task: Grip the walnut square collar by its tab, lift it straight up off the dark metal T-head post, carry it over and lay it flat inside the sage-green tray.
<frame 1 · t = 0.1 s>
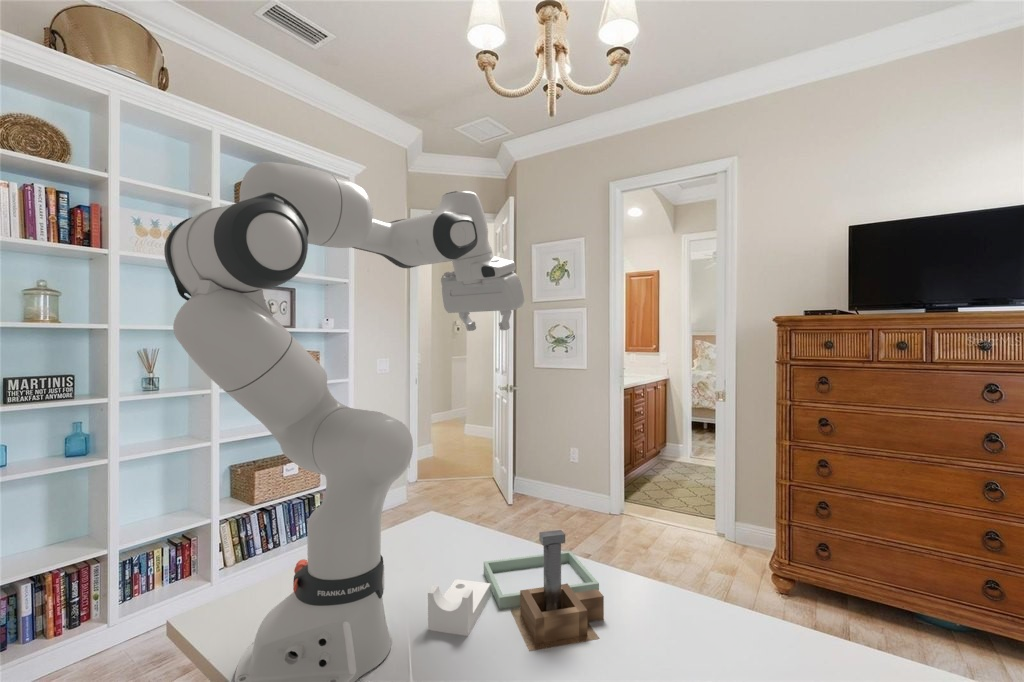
hand: (488, 329, 107), 52 cm above the table, tool tilted 20°, fingers open, 8 cm apart
bracket: (461, 619, 86), on the table
sage tray: (538, 586, 97), on the table
post stand: (552, 629, 83), on the table
walnut collar: (552, 623, 83), point 1 cm above the table, touching post stand
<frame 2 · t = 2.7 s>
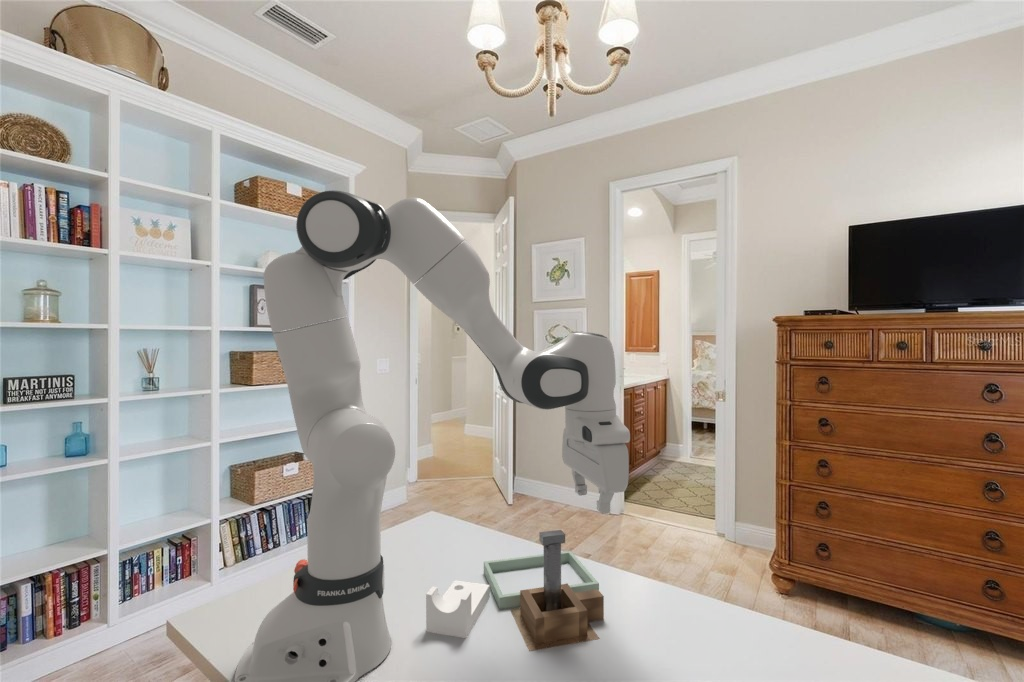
hand: (591, 502, 84), 21 cm above the table, tool pointing down, fingers open, 8 cm apart
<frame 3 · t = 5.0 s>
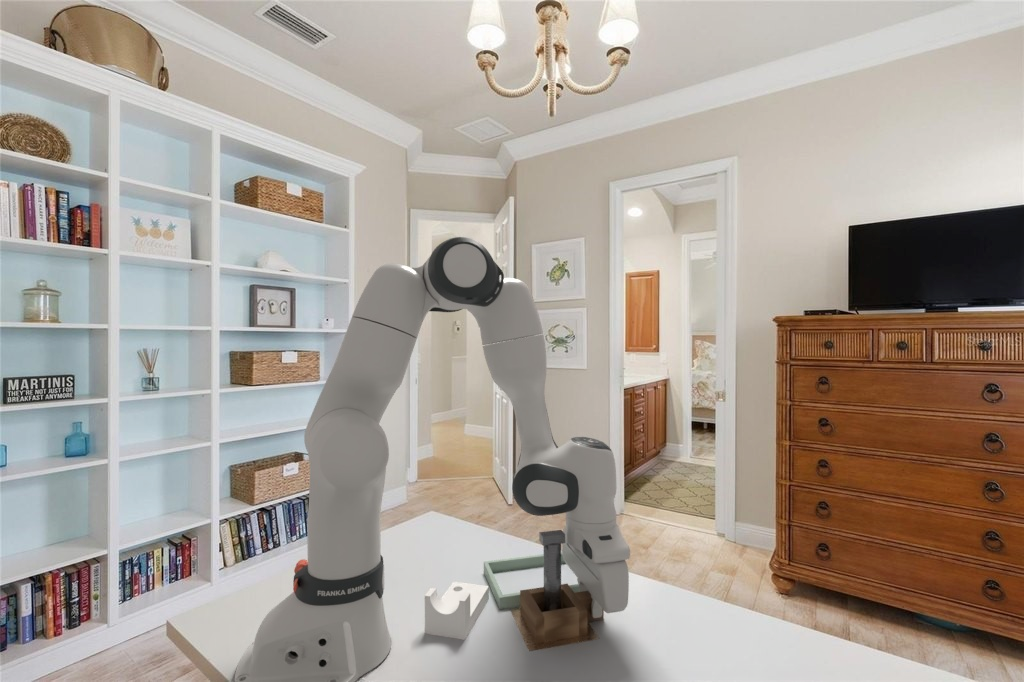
hand: (591, 609, 84), 2 cm above the table, tool pointing down, fingers closed on walnut collar, 2 cm apart
walnut collar: (552, 623, 83), point 1 cm above the table, touching gripper, post stand
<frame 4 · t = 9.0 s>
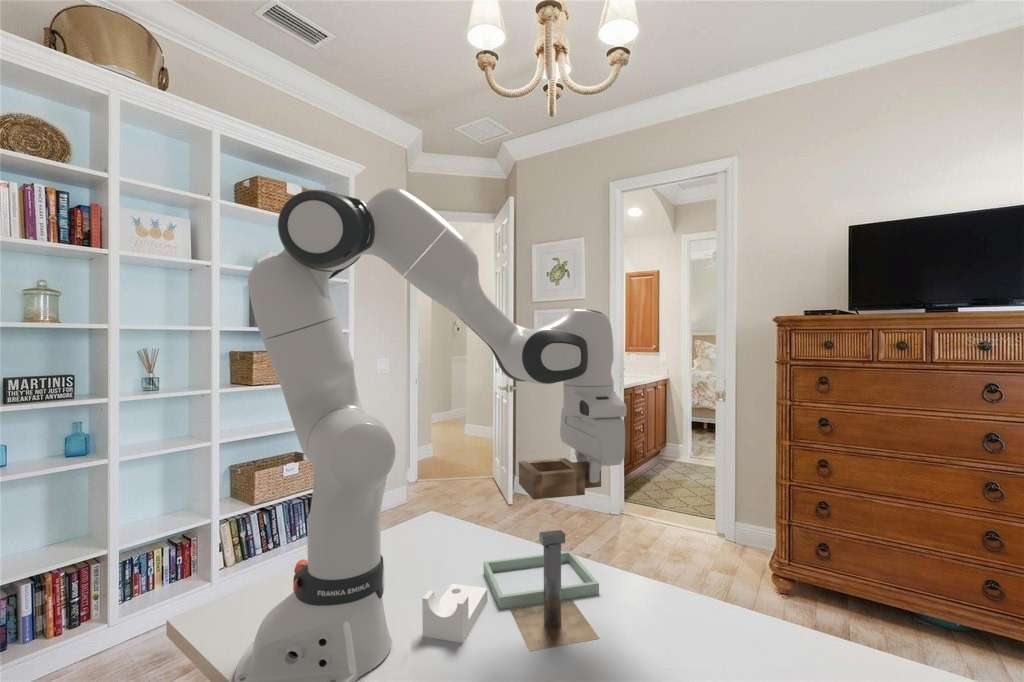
hand: (588, 478, 85), 25 cm above the table, tool pointing down, fingers closed on walnut collar, 2 cm apart
walnut collar: (550, 489, 84), point 24 cm above the table, touching gripper
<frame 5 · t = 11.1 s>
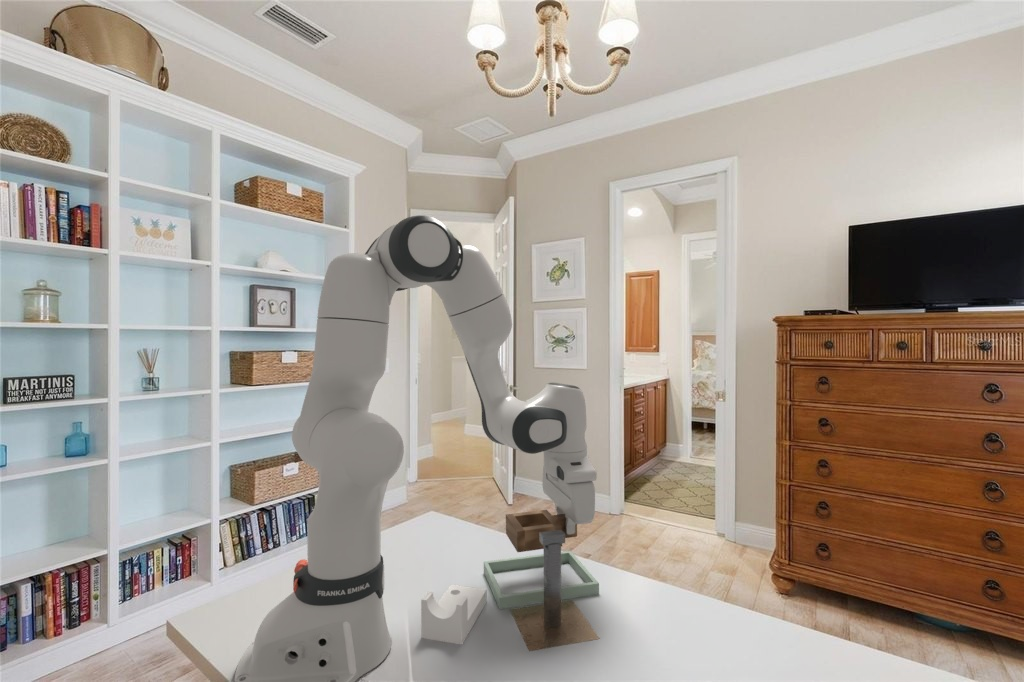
hand: (566, 529, 98), 11 cm above the table, tool pointing down, fingers closed on walnut collar, 2 cm apart
walnut collar: (533, 539, 97), point 10 cm above the table, touching gripper
when the fingers open (3 cm above the table, at t = 12.9 s): walnut collar drops 1 cm, resting on sage tray.
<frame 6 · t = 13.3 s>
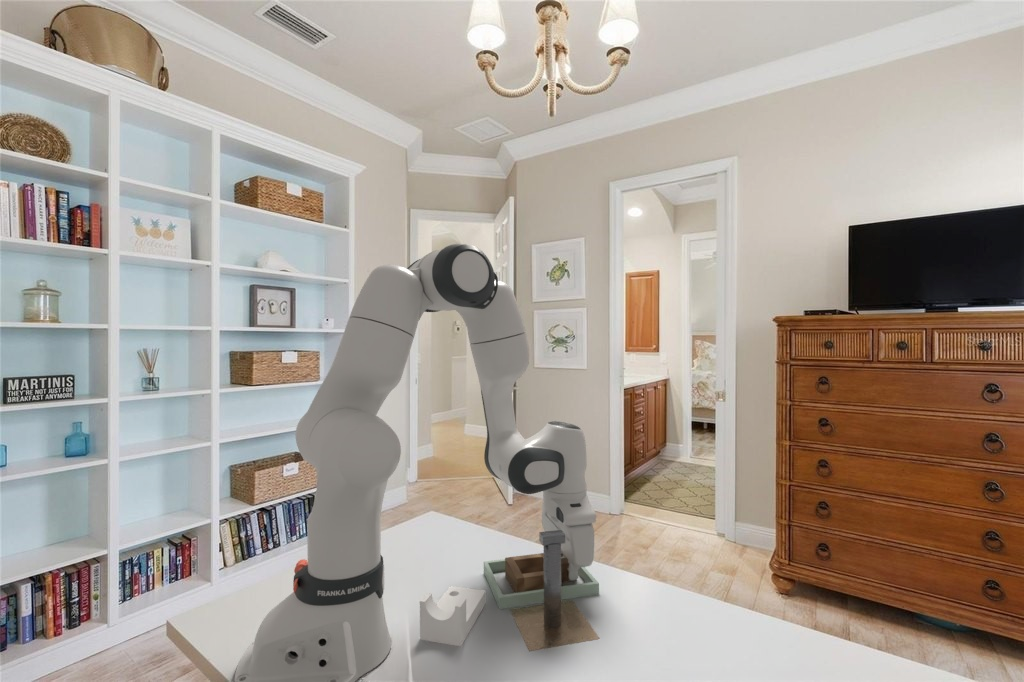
hand: (565, 568, 98), 3 cm above the table, tool pointing down, fingers open, 7 cm apart
walnut collar: (532, 584, 96), point 1 cm above the table, touching sage tray
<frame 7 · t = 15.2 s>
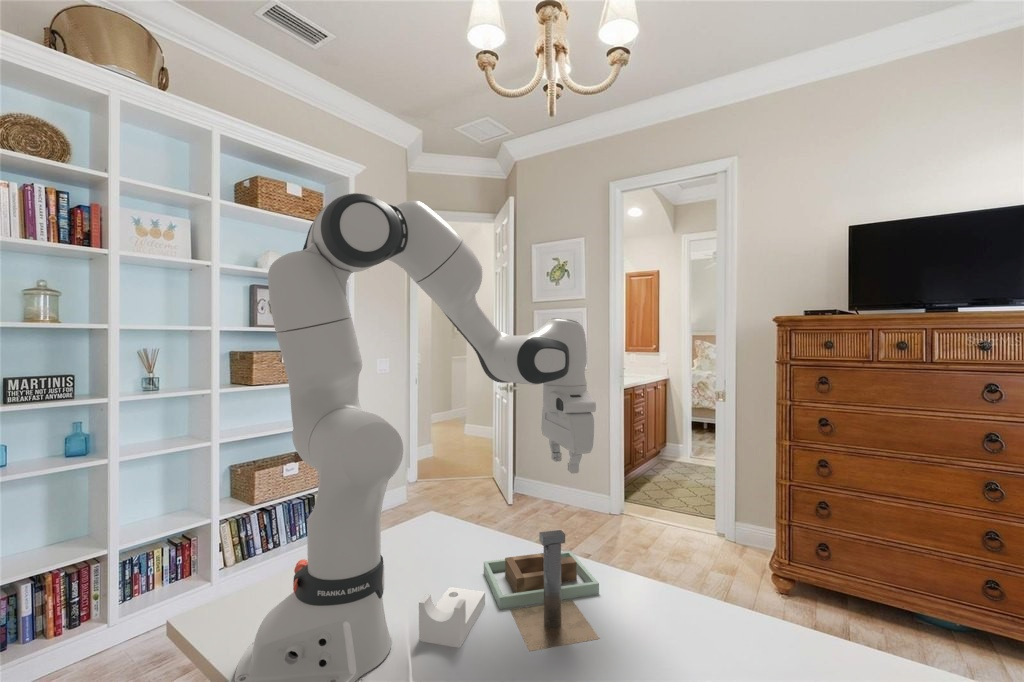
hand: (564, 466, 98), 24 cm above the table, tool pointing down, fingers open, 8 cm apart
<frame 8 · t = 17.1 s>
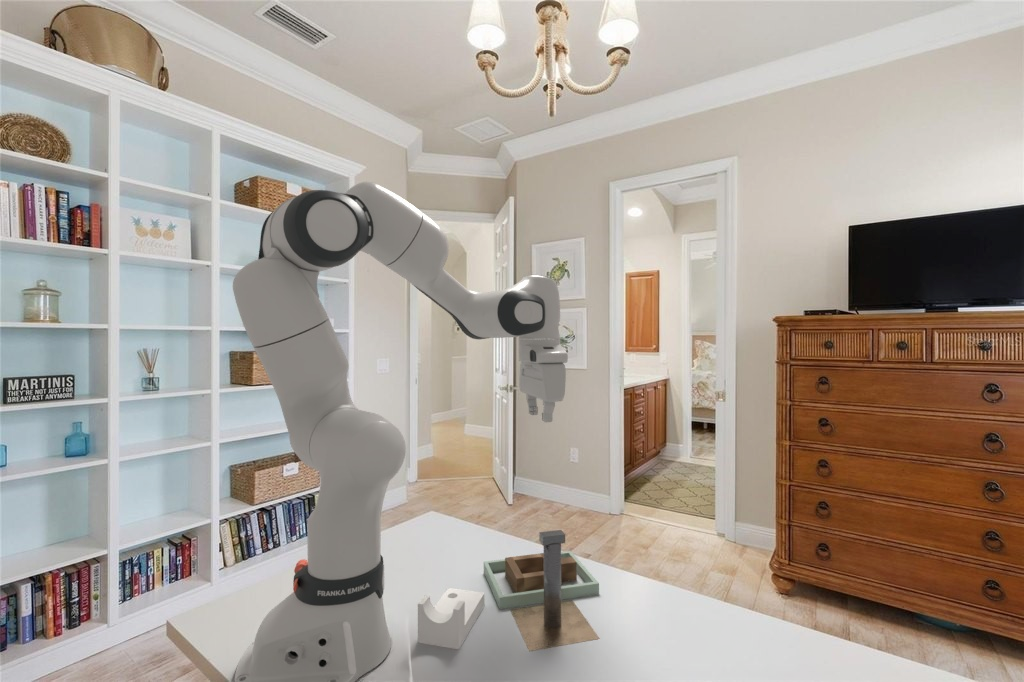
hand: (539, 418, 102), 33 cm above the table, tool pointing down, fingers open, 8 cm apart
at the end: walnut collar inside the target area on the sage tray (0.7 cm from its centre), point 0.6 cm above the sage tray's base; walnut collar tilted 0°; the gripper is holding nothing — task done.
